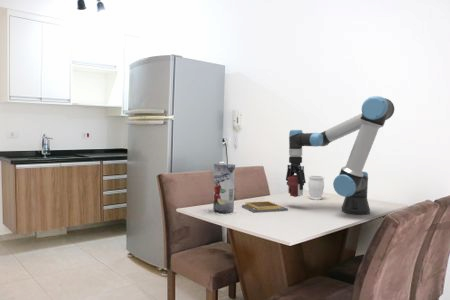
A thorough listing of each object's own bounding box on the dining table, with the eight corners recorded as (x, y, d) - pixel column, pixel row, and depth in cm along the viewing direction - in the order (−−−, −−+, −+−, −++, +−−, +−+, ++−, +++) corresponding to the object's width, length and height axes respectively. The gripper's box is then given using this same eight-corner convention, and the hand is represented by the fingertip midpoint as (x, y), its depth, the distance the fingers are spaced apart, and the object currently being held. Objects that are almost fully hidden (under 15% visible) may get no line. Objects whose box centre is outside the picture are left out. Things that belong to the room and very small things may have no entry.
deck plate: (287, 210, 207) (288, 205, 207) (254, 212, 199) (254, 207, 199) (273, 205, 222) (273, 200, 222) (241, 207, 214) (241, 202, 214)
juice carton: (222, 209, 207) (223, 160, 206) (236, 212, 200) (237, 162, 199) (210, 211, 201) (211, 161, 200) (224, 214, 193) (225, 162, 192)
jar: (325, 200, 245) (326, 177, 244) (309, 199, 245) (310, 177, 244) (321, 197, 255) (322, 175, 255) (306, 197, 255) (307, 175, 255)
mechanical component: (303, 195, 221) (304, 197, 211) (286, 194, 223) (286, 197, 213) (304, 174, 221) (304, 176, 211) (287, 174, 223) (286, 175, 213)
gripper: (280, 155, 226) (279, 192, 226) (300, 157, 205) (300, 197, 205) (290, 155, 229) (290, 191, 229) (312, 156, 208) (312, 196, 208)
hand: (295, 194), depth 217 cm, fingers closed on mechanical component, 10 cm apart
